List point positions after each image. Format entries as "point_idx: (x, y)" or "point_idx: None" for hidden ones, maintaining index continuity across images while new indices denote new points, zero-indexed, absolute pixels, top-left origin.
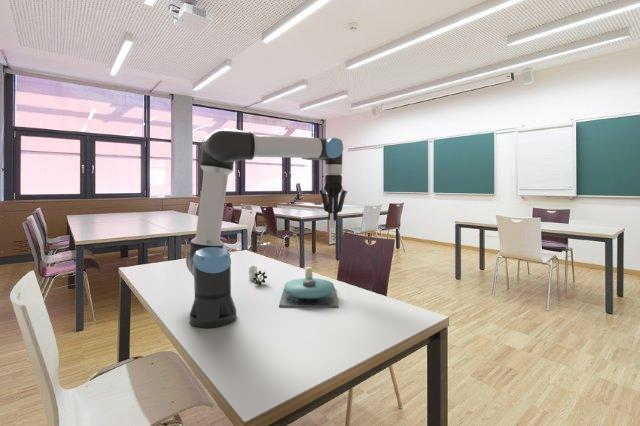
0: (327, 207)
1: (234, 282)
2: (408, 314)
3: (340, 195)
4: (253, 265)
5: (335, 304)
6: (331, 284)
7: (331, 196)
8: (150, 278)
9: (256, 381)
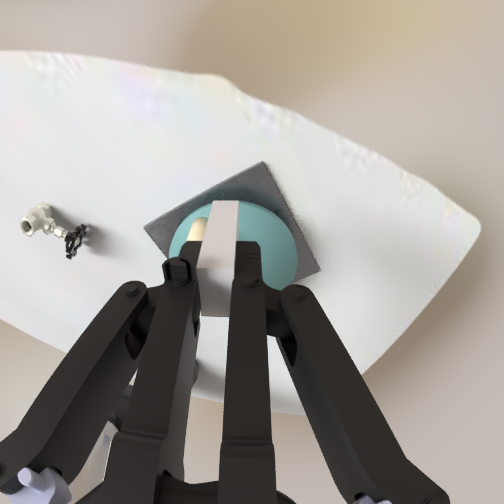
0: (124, 318)
1: (42, 247)
2: (440, 239)
3: (340, 491)
4: (22, 221)
5: (312, 269)
6: (283, 235)
7: (176, 472)
8: None
9: (299, 403)
